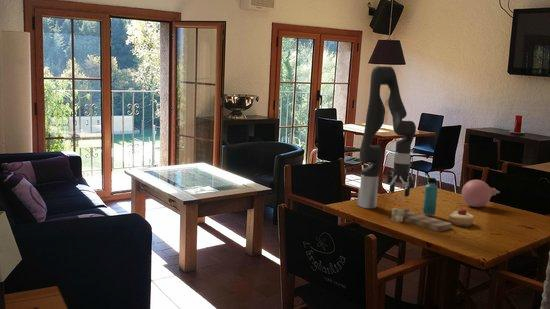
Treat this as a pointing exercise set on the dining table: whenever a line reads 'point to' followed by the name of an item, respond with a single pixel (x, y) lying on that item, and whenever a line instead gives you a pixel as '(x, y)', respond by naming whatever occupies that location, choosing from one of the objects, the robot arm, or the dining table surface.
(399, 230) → the dining table surface
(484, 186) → the balloon
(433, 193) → the beverage bottle
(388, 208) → the dining table surface
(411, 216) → the board
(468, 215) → the pastry
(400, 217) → the beige cube mallet
